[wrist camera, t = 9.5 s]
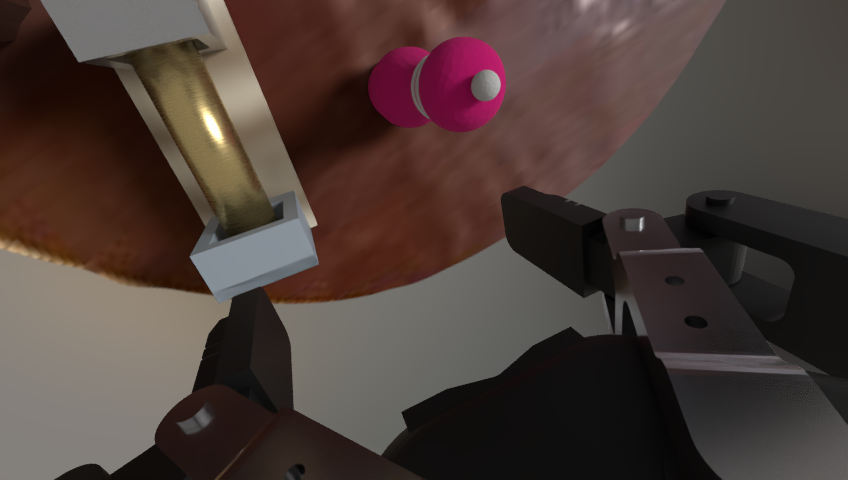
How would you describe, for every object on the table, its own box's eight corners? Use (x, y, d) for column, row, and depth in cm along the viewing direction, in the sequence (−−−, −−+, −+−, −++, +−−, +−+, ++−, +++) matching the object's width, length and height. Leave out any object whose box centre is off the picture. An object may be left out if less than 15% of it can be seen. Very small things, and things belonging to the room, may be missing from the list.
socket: (210, 218, 35) (189, 256, 27) (294, 190, 37) (298, 218, 29) (232, 256, 37) (218, 303, 29) (310, 227, 39) (318, 264, 31)
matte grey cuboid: (94, 0, 27) (16, -39, 19) (198, -20, 29) (166, -64, 21) (133, 70, 29) (78, 62, 21) (227, 48, 31) (210, 32, 23)
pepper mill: (370, 130, 39) (444, 159, 22) (356, 56, 36) (428, 20, 18) (431, 118, 41) (544, 136, 23) (422, 47, 38) (545, 7, 20)
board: (74, -9, 27) (67, -12, 27) (209, -34, 30) (207, -38, 29) (225, 255, 38) (224, 259, 37) (316, 222, 40) (317, 225, 39)
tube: (118, 24, 26) (89, 12, 22) (185, 10, 27) (169, -4, 23) (236, 239, 34) (230, 258, 30) (283, 222, 35) (284, 238, 31)
